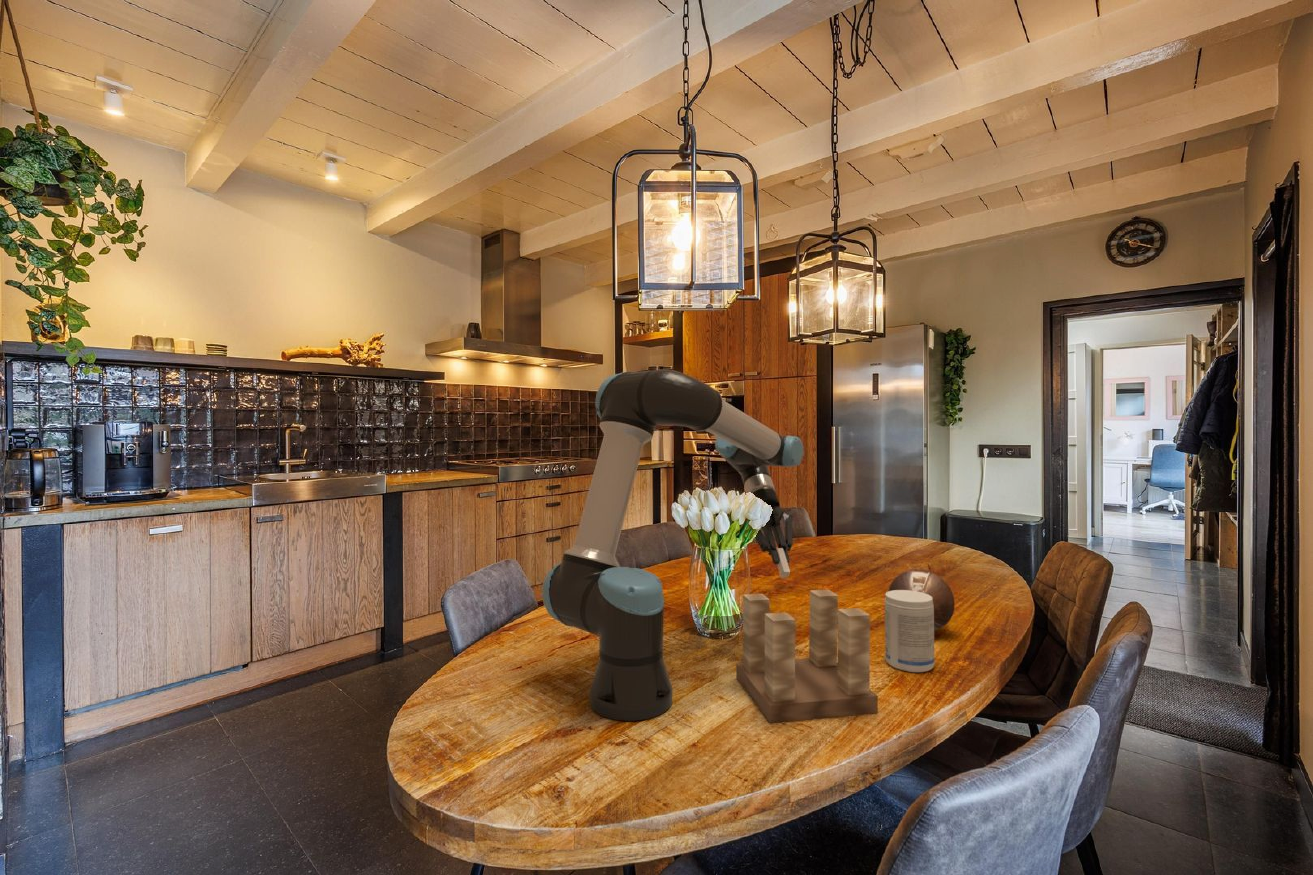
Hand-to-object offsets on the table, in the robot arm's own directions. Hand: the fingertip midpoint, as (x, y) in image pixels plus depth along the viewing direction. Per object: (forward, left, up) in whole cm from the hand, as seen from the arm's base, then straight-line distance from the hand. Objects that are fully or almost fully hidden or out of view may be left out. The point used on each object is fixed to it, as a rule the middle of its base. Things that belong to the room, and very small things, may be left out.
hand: (785, 574), depth 137 cm
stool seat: (-8, -27, -16) cm, 32 cm away
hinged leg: (-1, -21, -12) cm, 24 cm away
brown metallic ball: (+35, 0, -16) cm, 39 cm away
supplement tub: (+20, -18, -16) cm, 31 cm away
